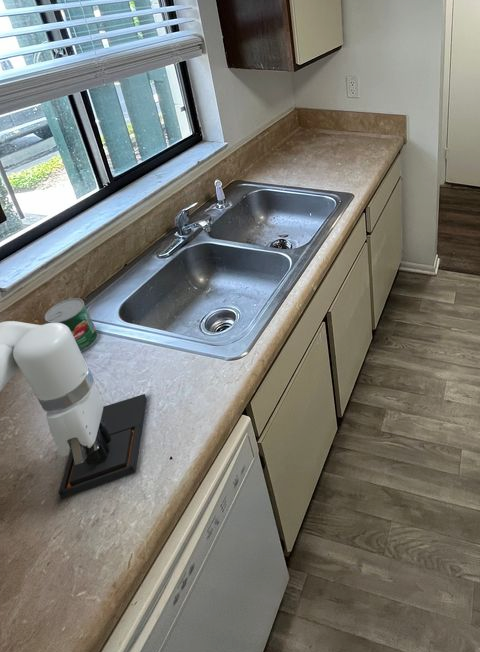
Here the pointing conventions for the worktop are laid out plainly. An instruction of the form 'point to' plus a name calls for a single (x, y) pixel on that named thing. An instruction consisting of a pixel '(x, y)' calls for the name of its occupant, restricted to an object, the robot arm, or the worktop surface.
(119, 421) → the base pad
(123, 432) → the black pad
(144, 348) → the worktop surface
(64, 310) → the canned tomato
